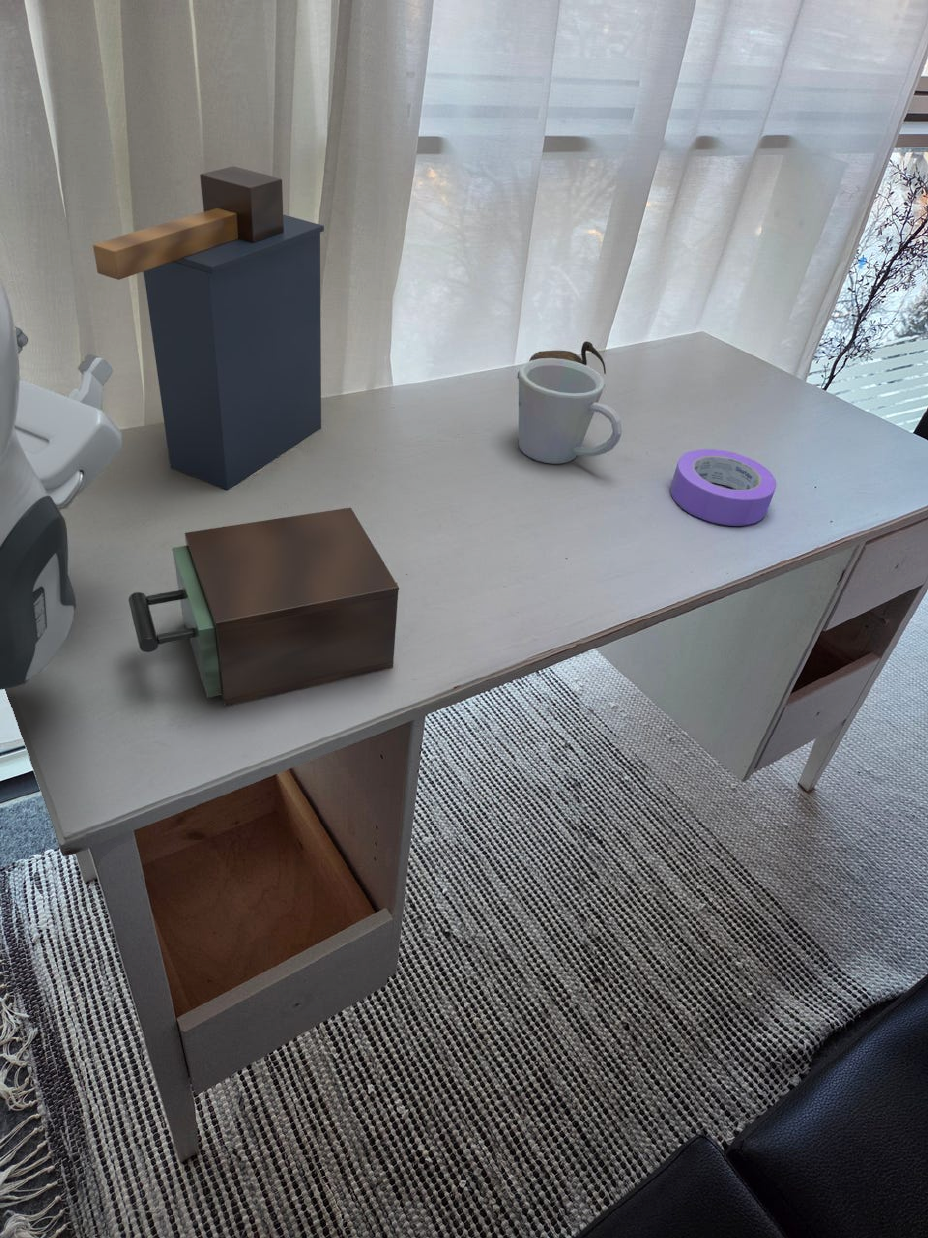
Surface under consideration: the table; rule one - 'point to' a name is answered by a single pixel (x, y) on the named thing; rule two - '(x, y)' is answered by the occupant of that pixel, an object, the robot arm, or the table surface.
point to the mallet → (201, 224)
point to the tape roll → (718, 502)
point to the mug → (560, 410)
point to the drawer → (194, 618)
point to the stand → (238, 351)
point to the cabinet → (295, 602)
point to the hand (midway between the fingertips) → (59, 345)
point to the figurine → (570, 355)
